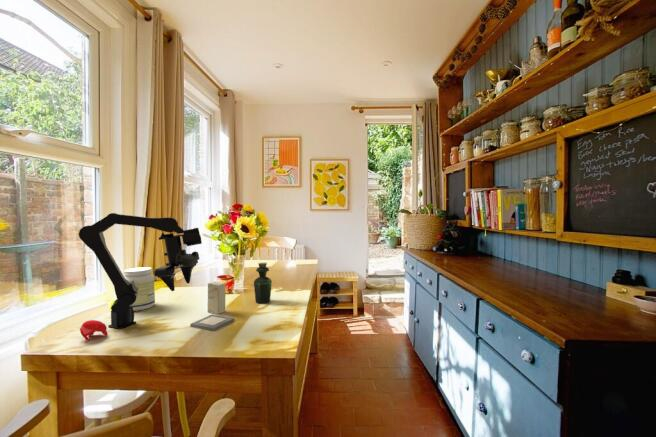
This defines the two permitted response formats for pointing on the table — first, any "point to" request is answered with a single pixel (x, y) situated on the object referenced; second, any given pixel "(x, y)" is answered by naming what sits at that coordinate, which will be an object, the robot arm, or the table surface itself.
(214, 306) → the skincare box
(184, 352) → the table surface
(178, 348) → the table surface
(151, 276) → the supplement tub
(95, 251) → the robot arm
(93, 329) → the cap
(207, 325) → the slate pad
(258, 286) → the potion bottle
